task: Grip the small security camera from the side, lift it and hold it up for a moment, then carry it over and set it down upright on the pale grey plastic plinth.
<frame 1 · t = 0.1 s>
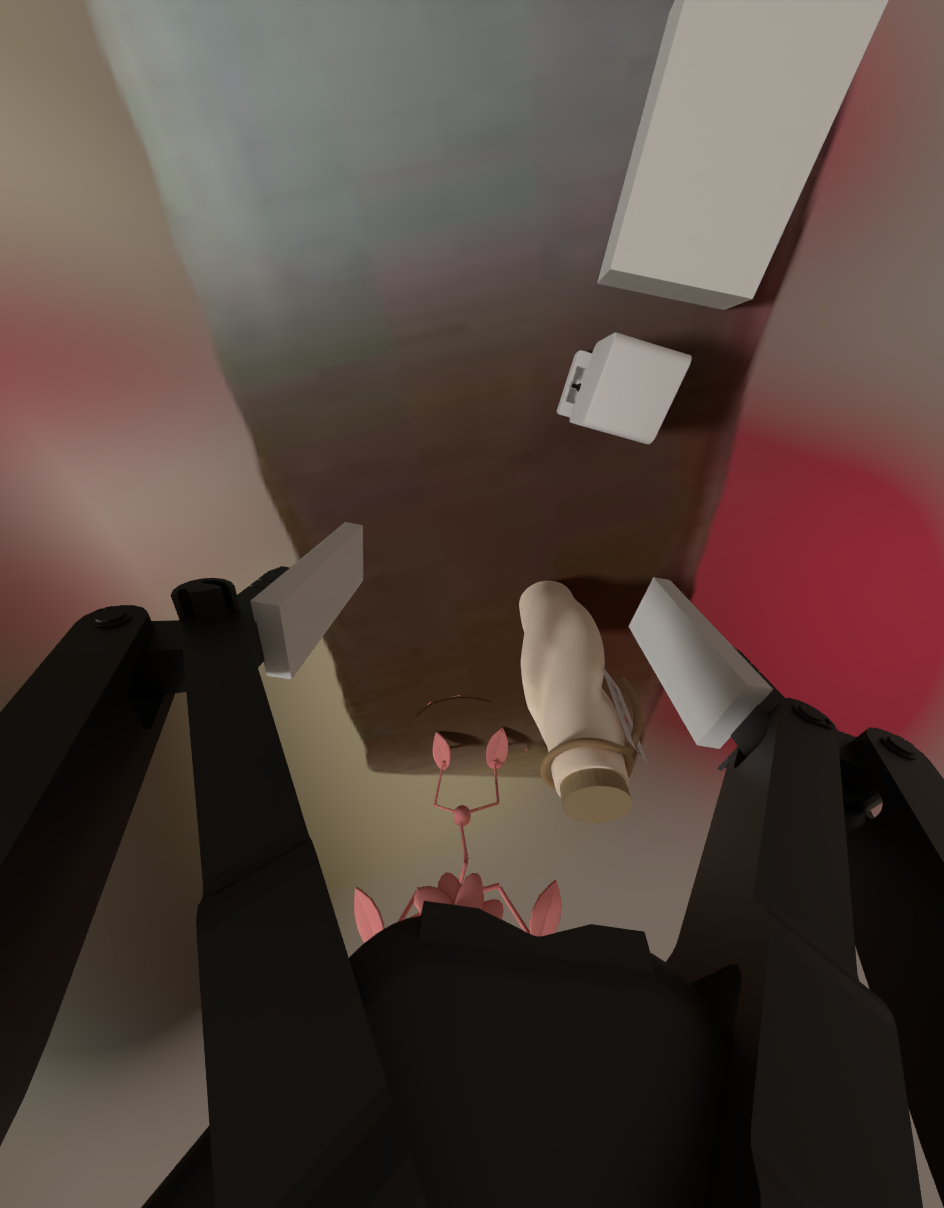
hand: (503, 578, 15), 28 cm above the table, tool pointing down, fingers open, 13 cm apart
figurine: (468, 723, 63), on the table
plinth: (700, 182, 27), on the table
security camera: (597, 392, 35), on the table
water bottle: (548, 599, 48), on the table
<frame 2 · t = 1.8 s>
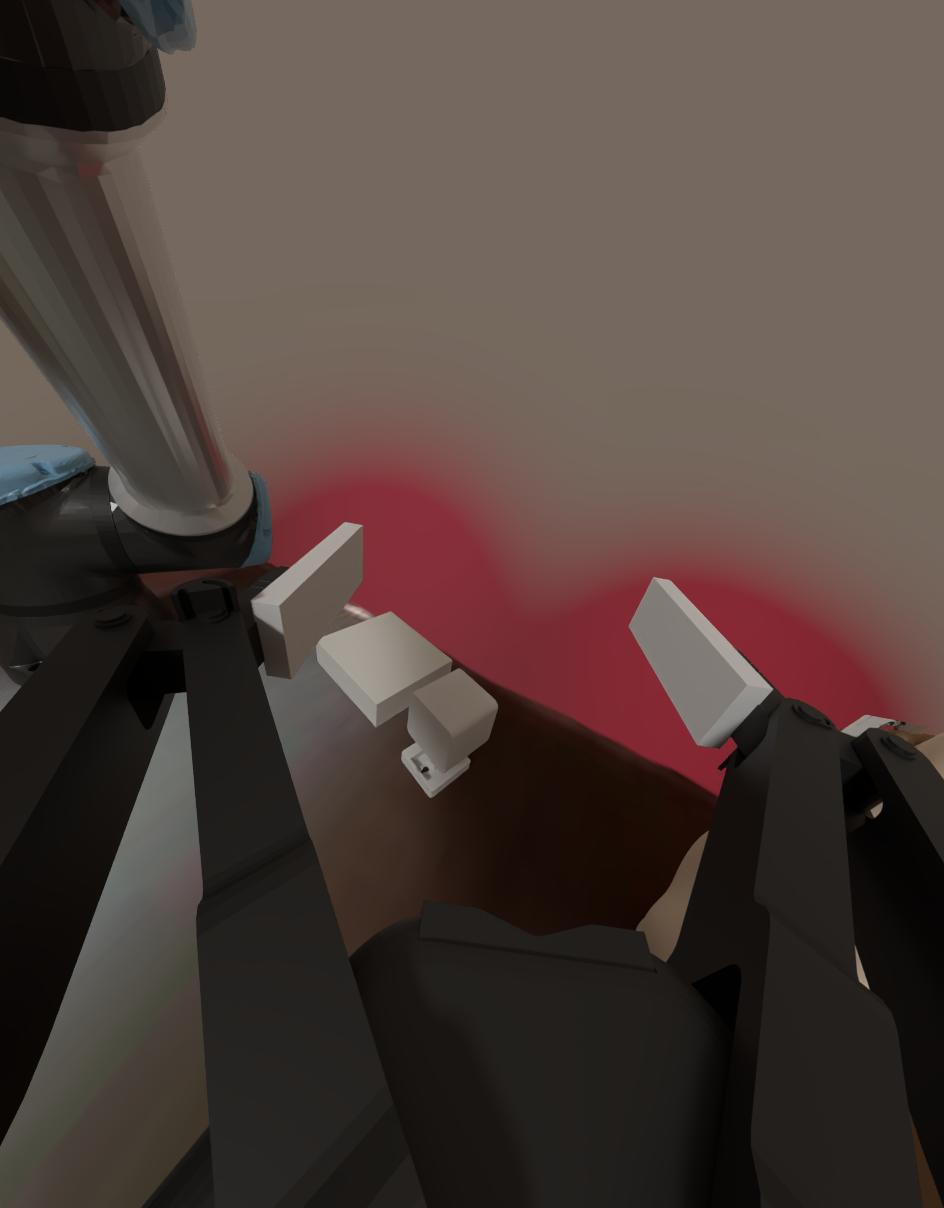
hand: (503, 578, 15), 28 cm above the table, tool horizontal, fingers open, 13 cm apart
plinth: (384, 671, 47), on the table
security camera: (440, 760, 38), on the table
water bottle: (673, 967, 26), on the table
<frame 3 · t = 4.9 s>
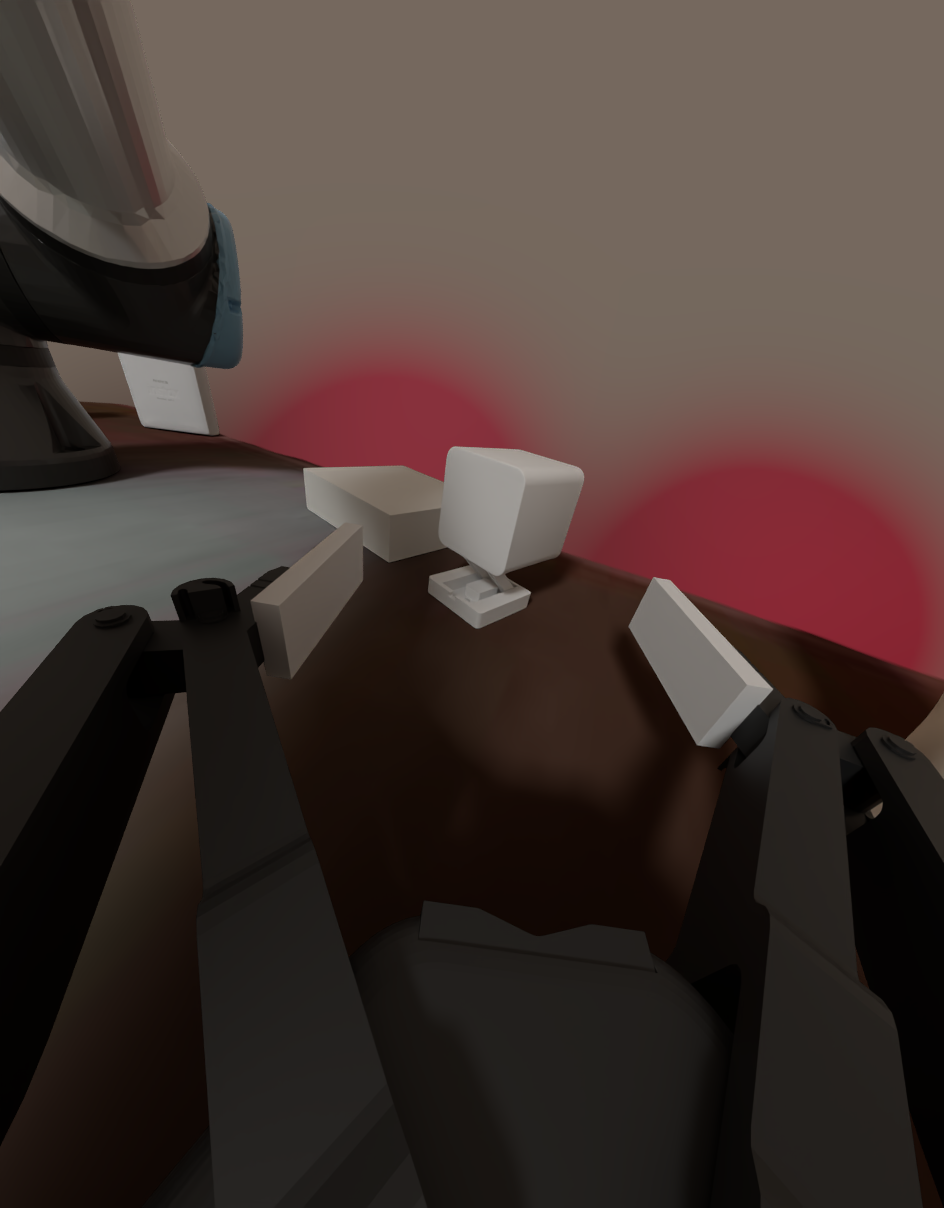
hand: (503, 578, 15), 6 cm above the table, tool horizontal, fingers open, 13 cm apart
plinth: (396, 523, 35), on the table
photo printer: (182, 432, 55), on the table
security camera: (484, 598, 26), on the table
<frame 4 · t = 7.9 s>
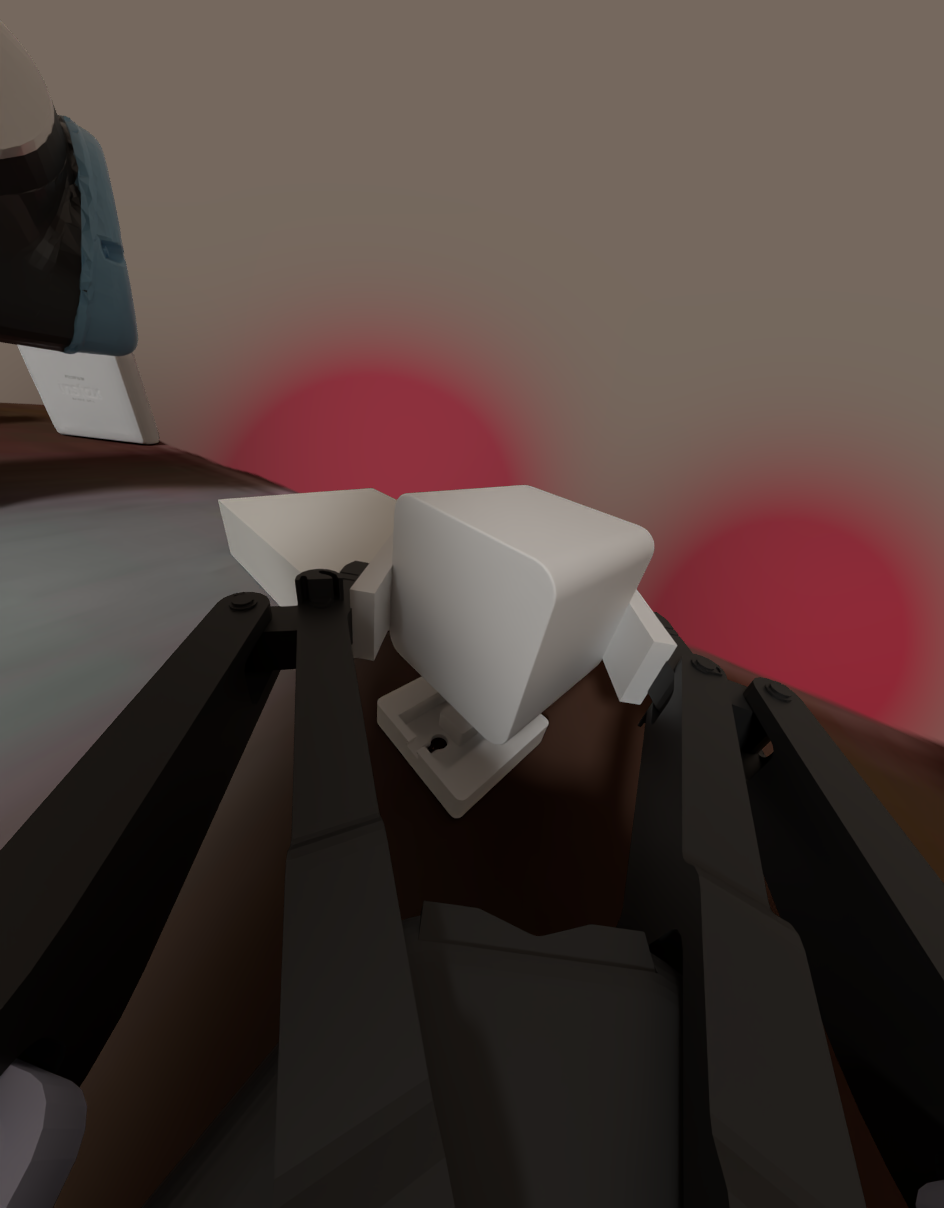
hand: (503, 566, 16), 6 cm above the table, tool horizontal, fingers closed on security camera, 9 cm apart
plinth: (356, 573, 25), on the table
photo printer: (112, 440, 45), on the table
security camera: (471, 724, 16), on the table, touching gripper
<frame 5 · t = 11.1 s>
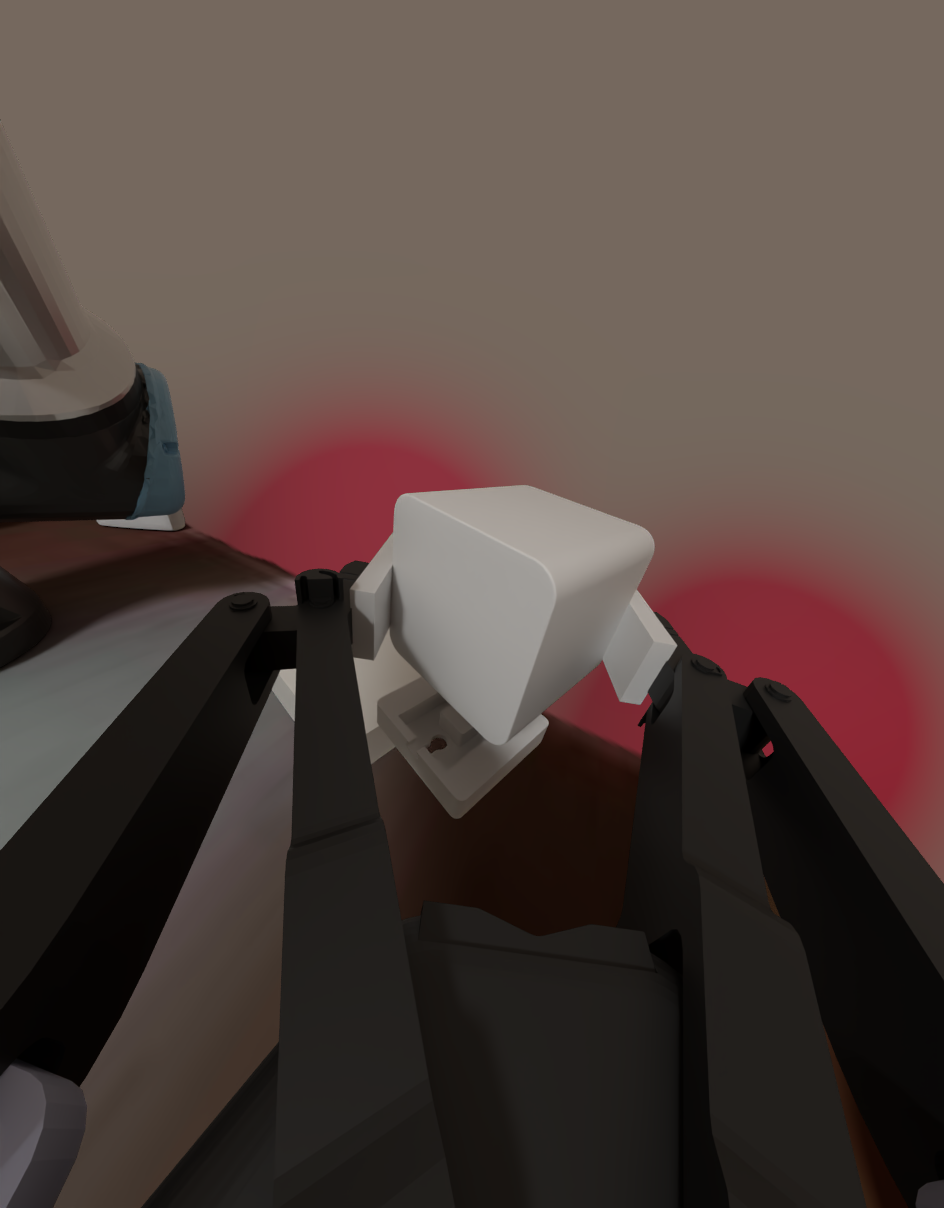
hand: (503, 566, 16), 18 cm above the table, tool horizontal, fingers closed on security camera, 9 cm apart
plinth: (361, 687, 31), on the table
photo printer: (144, 526, 51), on the table
security camera: (471, 724, 16), point 12 cm above the table, touching gripper
when the fingers open (11 cm above the table, at t = 14.3 s): security camera drops 1 cm, resting on plinth.
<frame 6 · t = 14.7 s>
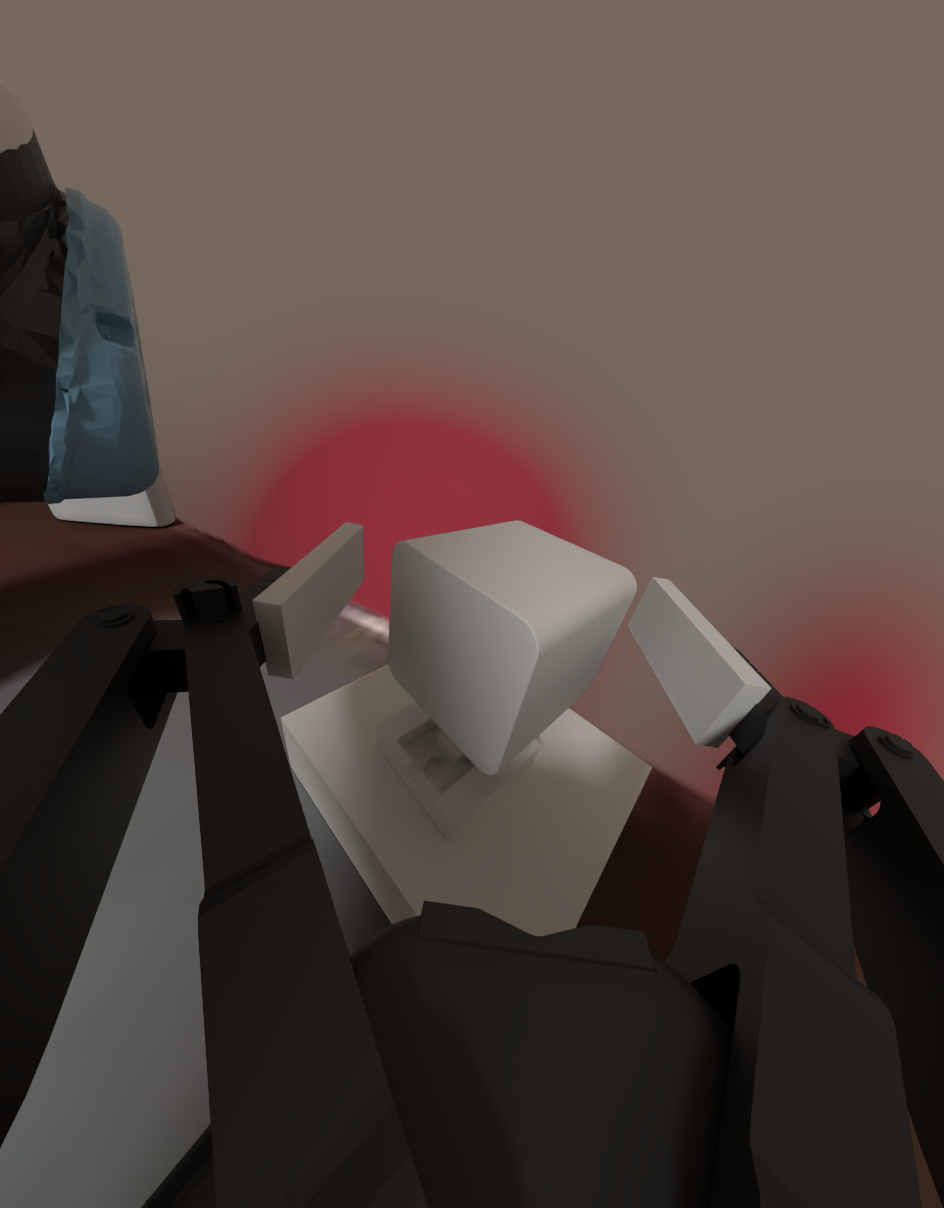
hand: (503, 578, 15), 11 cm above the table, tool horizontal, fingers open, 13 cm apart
plinth: (460, 787, 19), on the table
photo printer: (120, 521, 38), on the table
security camera: (466, 745, 17), point 4 cm above the table, touching plinth
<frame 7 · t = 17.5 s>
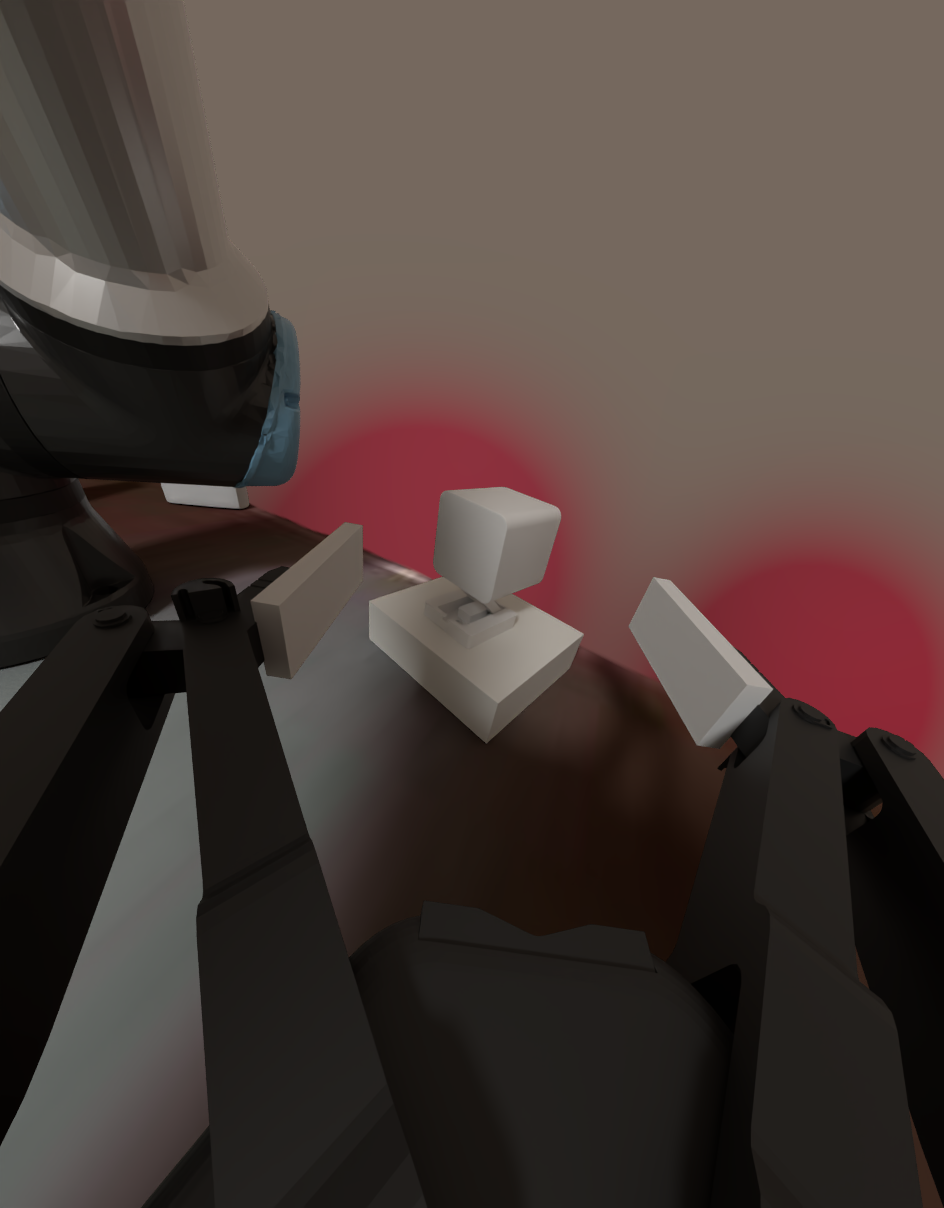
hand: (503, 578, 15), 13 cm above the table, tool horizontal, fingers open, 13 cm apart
plinth: (470, 653, 31), on the table
photo printer: (210, 505, 50), on the table
security camera: (475, 619, 29), point 4 cm above the table, touching plinth
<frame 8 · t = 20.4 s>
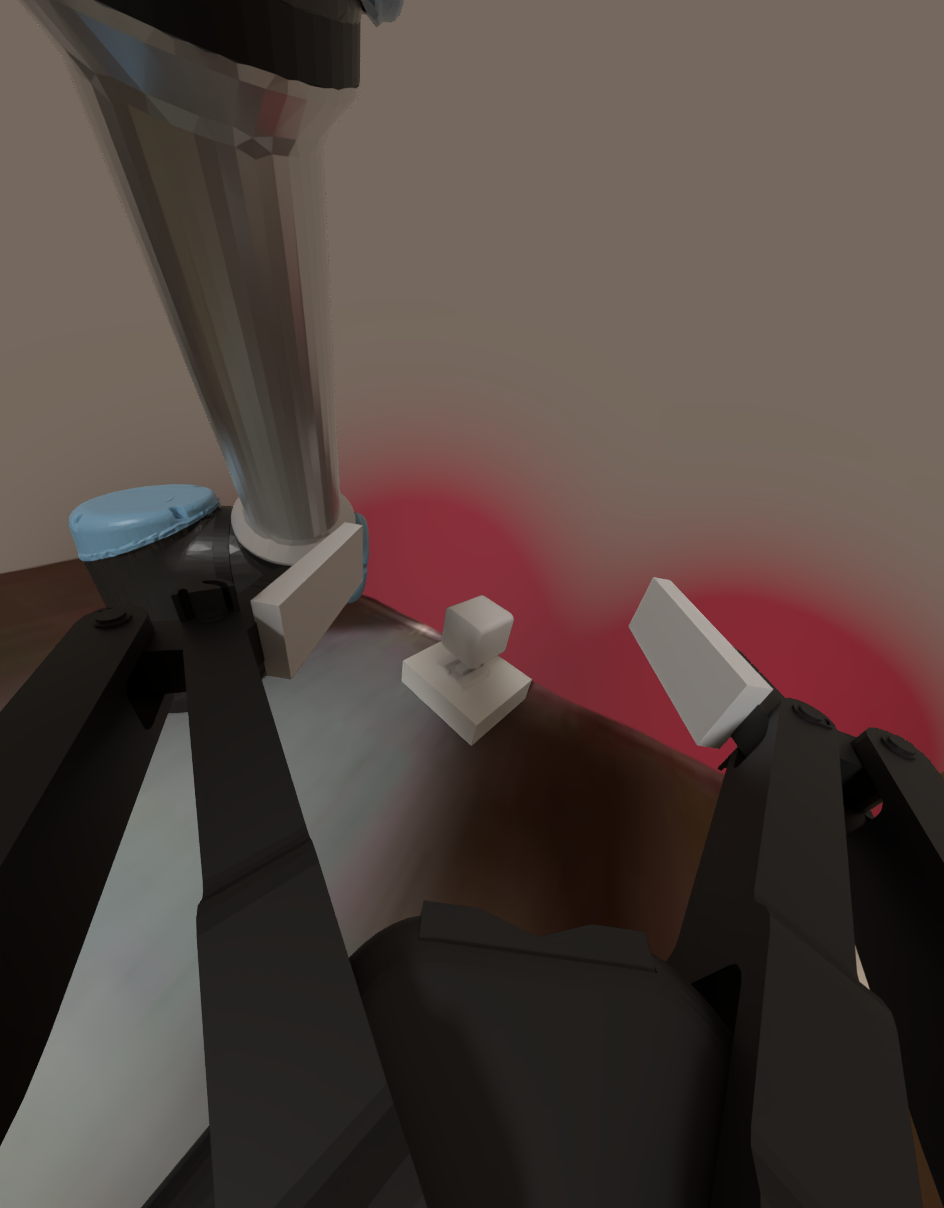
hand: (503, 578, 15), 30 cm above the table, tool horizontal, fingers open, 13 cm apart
plinth: (464, 690, 50), on the table
security camera: (466, 671, 48), point 4 cm above the table, touching plinth
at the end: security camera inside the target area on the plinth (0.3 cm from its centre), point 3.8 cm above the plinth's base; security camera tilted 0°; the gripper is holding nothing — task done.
